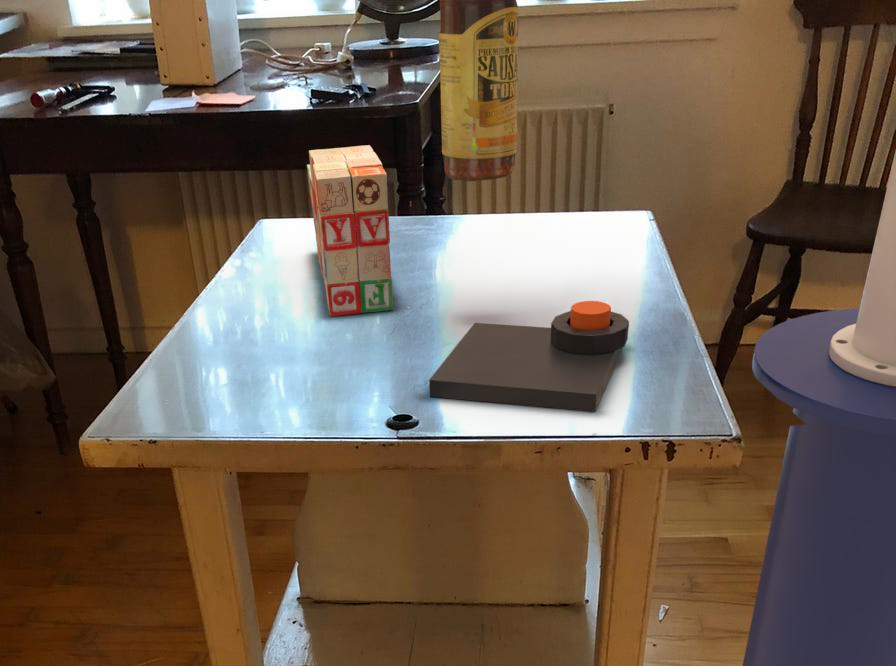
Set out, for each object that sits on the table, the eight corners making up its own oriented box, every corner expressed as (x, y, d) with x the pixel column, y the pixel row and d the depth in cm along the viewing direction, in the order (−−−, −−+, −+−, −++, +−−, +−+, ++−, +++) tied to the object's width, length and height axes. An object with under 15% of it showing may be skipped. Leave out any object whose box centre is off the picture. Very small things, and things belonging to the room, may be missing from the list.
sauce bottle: (488, 187, 79) (483, -123, 67) (428, 181, 82) (412, -115, 71) (533, 170, 83) (535, -125, 71) (473, 165, 86) (466, -118, 75)
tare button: (612, 320, 80) (614, 301, 79) (605, 334, 78) (607, 315, 77) (574, 318, 81) (575, 299, 80) (566, 331, 79) (567, 312, 78)
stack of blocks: (315, 253, 109) (303, 132, 102) (371, 248, 110) (362, 127, 102) (329, 317, 92) (315, 176, 85) (395, 310, 93) (386, 170, 85)
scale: (630, 346, 83) (633, 311, 81) (602, 412, 73) (605, 373, 71) (476, 335, 86) (476, 302, 85) (429, 396, 76) (428, 359, 75)
